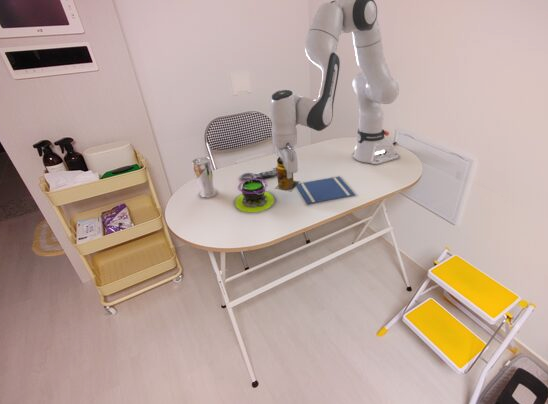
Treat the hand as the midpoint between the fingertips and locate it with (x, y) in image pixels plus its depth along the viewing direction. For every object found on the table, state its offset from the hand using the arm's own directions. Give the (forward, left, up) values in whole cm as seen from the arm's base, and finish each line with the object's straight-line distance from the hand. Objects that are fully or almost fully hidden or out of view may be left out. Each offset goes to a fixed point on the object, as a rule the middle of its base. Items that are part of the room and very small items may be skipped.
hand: (286, 173), depth 116 cm
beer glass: (+30, -13, -11) cm, 35 cm away
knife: (+2, -23, -11) cm, 26 cm away
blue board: (-16, 0, -11) cm, 19 cm away
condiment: (0, -1, -6) cm, 6 cm away
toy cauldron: (+13, -1, -11) cm, 17 cm away
